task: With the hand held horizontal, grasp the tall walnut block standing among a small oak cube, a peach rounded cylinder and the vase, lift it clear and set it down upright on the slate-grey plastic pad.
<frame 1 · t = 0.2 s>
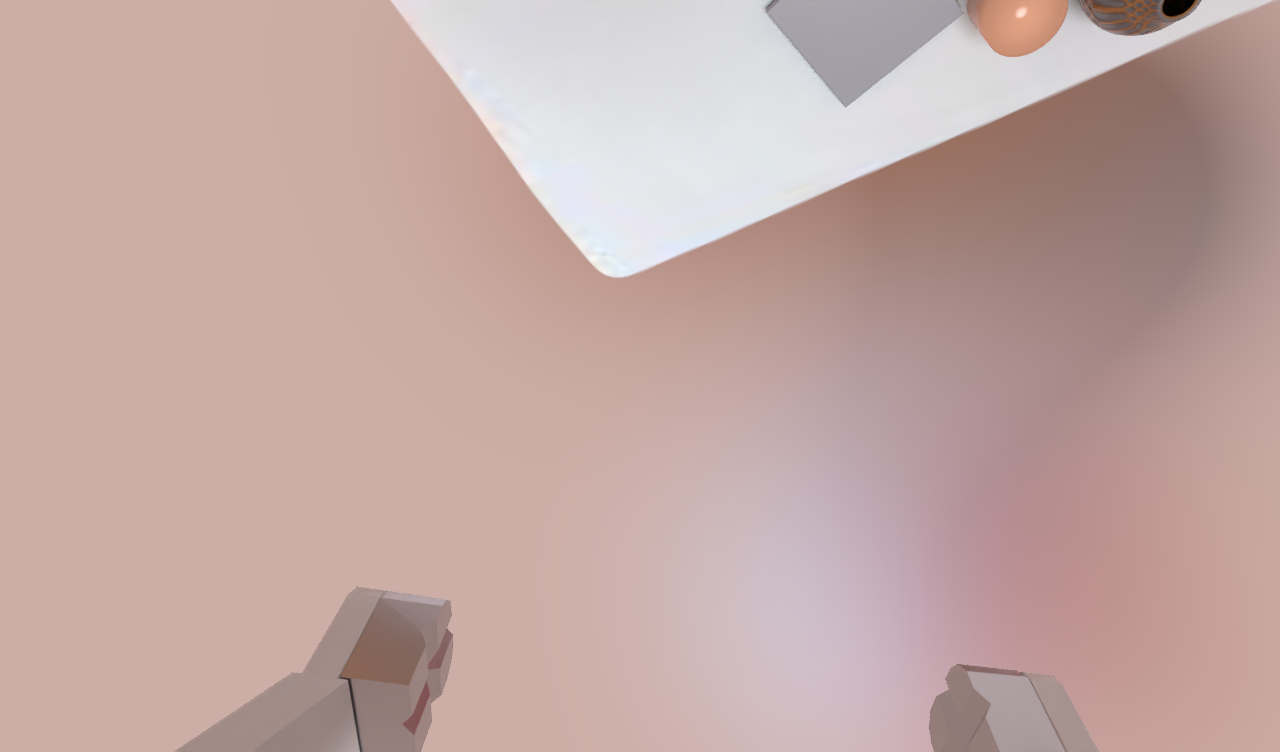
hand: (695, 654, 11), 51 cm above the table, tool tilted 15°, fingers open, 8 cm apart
grey pad: (862, 8, 50), on the table
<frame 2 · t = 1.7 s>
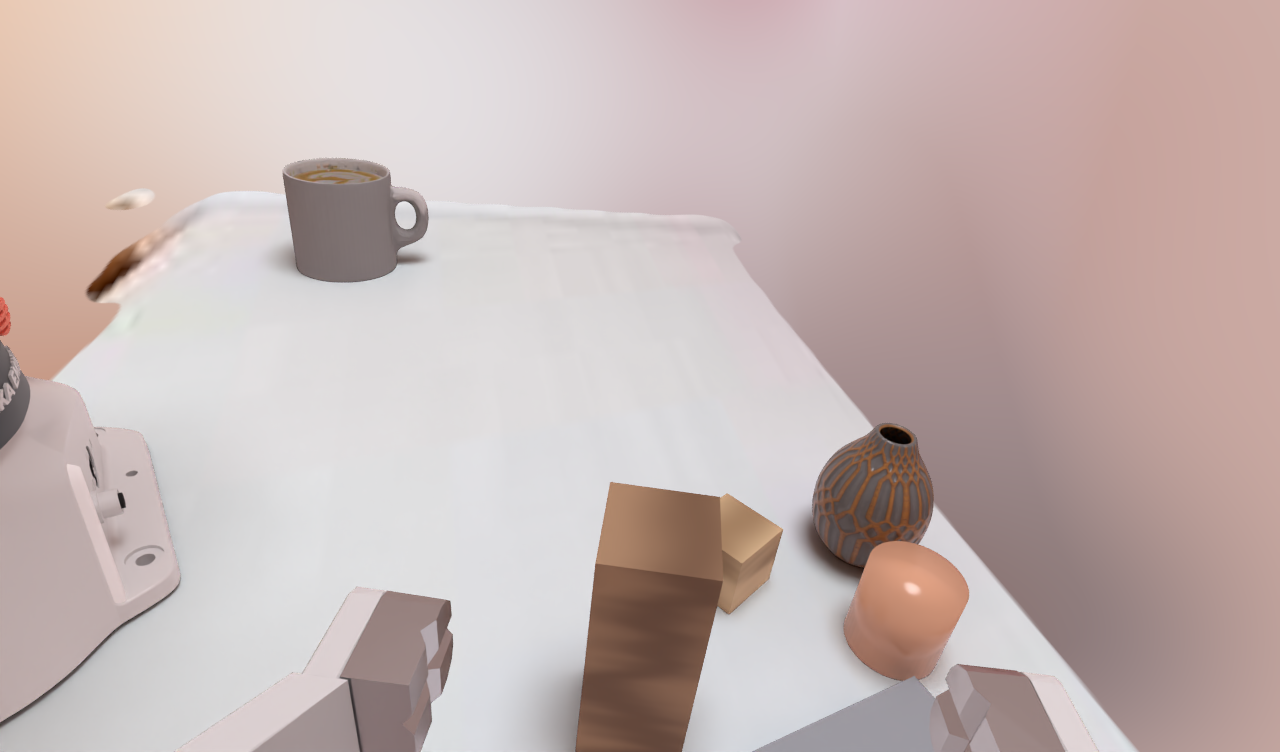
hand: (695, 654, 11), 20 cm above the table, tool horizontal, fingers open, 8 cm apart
vase: (854, 547, 44), on the table
walnut block: (629, 719, 32), on the table
coffee mug: (365, 266, 73), on the table
peach rounded cylinder: (889, 640, 37), on the table
oak cube: (722, 576, 40), on the table
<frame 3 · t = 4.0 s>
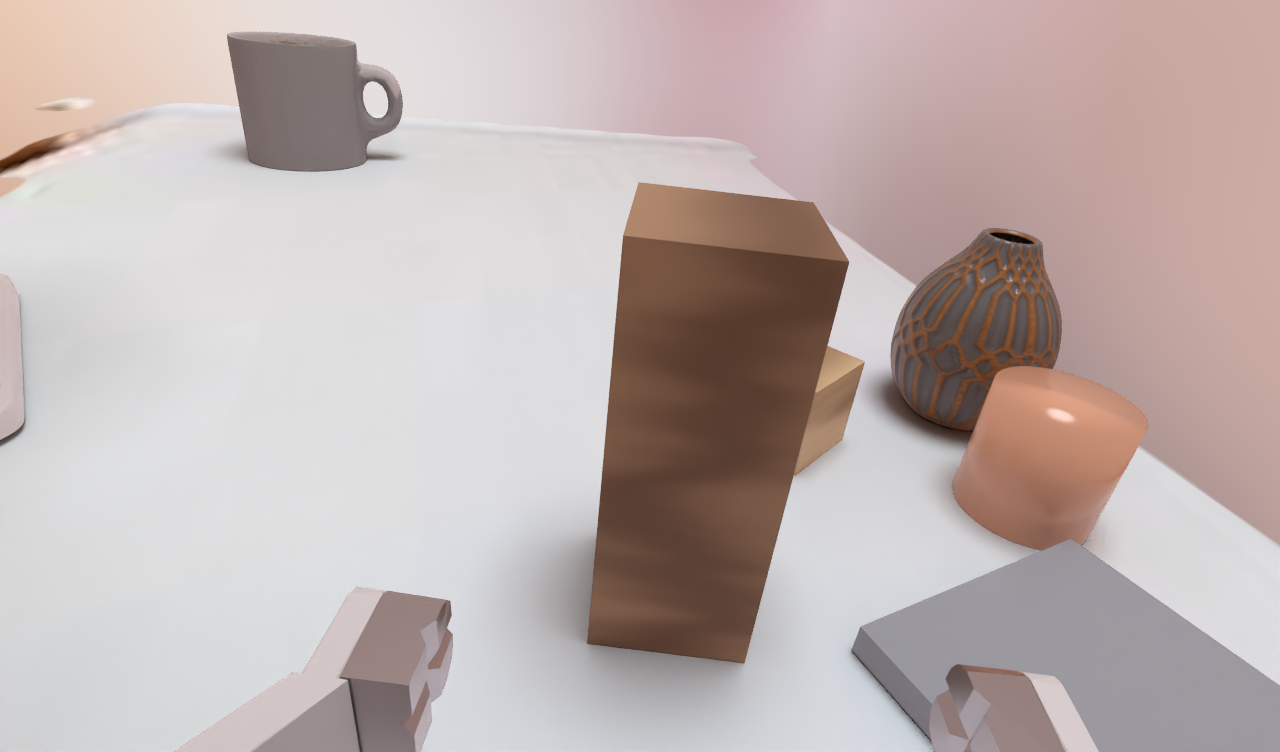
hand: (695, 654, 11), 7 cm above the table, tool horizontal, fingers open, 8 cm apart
vase: (945, 411, 33), on the table
walnut block: (668, 592, 21), on the table
grey pad: (1116, 733, 18), on the table
coffee mug: (329, 161, 63), on the table
peach rounded cylinder: (1018, 506, 27), on the table
oak cube: (779, 437, 30), on the table
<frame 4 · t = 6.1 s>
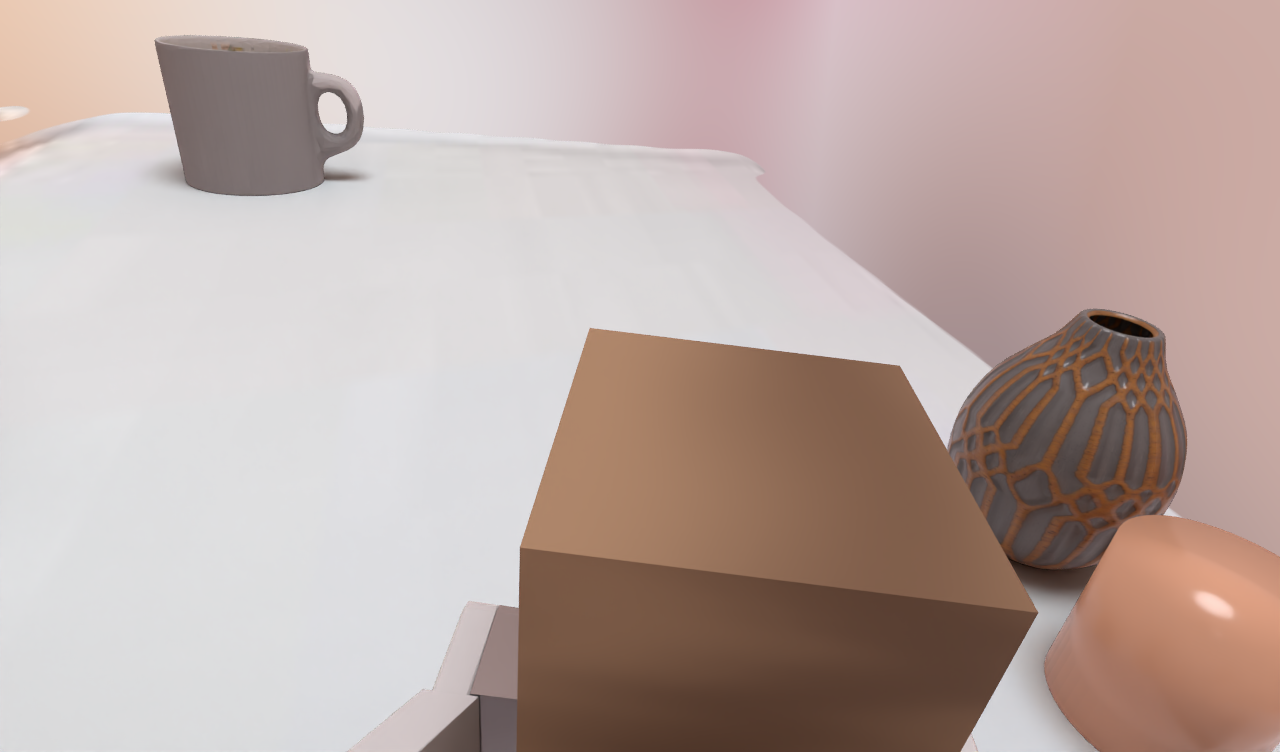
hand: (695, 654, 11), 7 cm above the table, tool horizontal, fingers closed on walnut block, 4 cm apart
vase: (1016, 535, 26), on the table
coffee mug: (280, 182, 56), on the table
peach rounded cylinder: (1139, 707, 19), on the table
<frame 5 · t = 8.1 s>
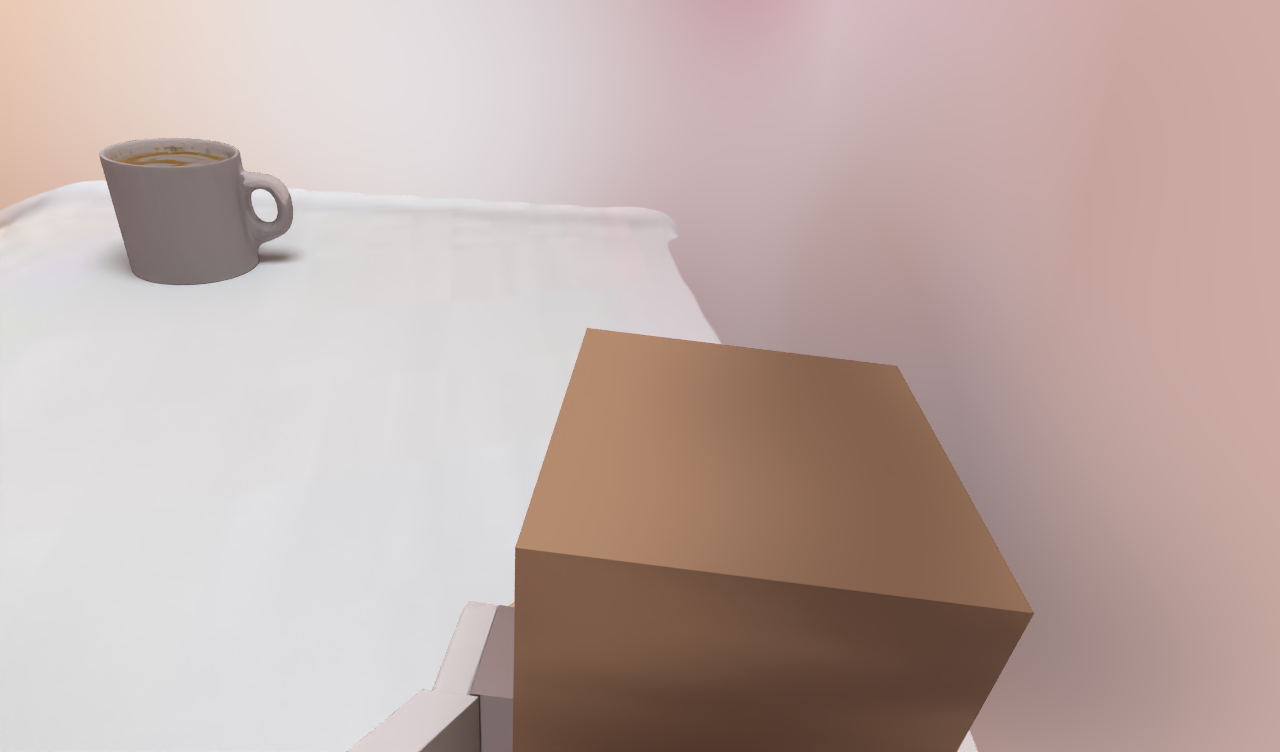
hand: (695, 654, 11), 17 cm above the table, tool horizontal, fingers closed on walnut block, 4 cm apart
coffee mug: (218, 266, 63), on the table
when the fingers open (9 cm above the table, at t = 10.2 s): walnut block drops 1 cm, resting on grey pad.
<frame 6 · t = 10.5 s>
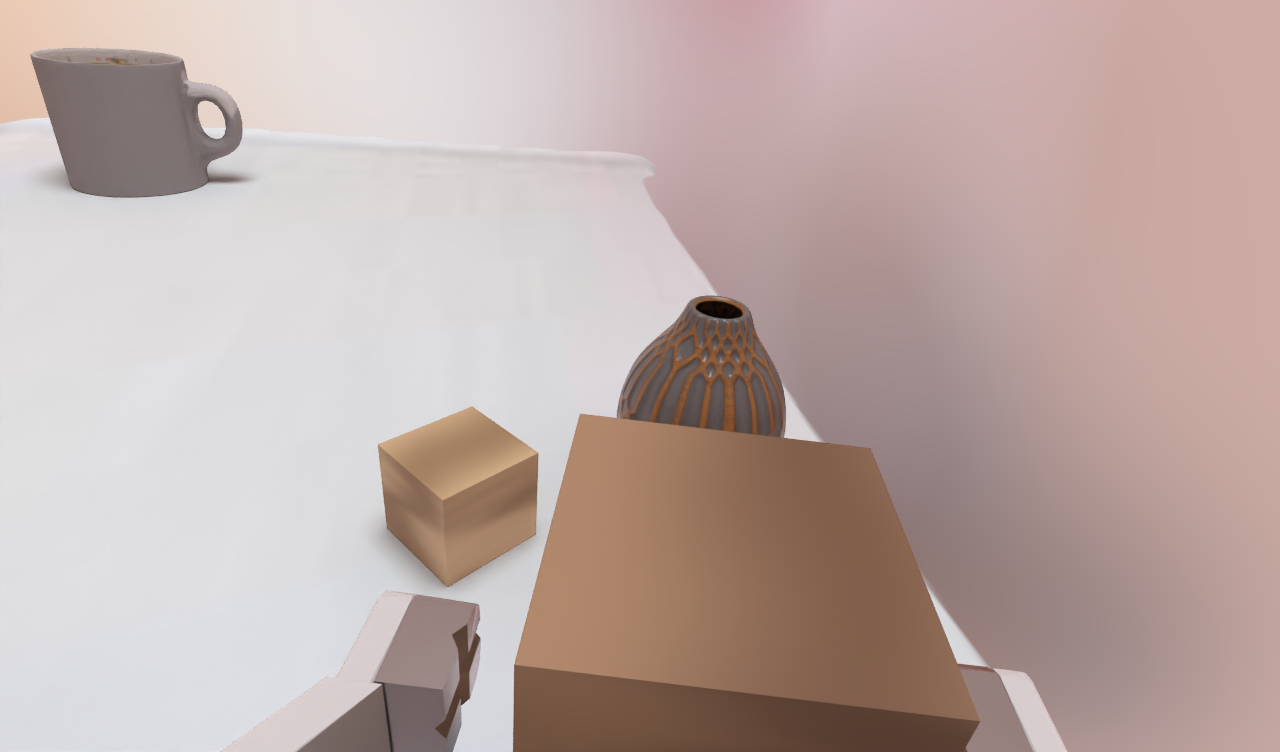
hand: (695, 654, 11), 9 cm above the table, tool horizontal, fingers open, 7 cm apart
vase: (687, 492, 30), on the table
coffee mug: (164, 185, 60), on the table
oak cube: (462, 532, 26), on the table
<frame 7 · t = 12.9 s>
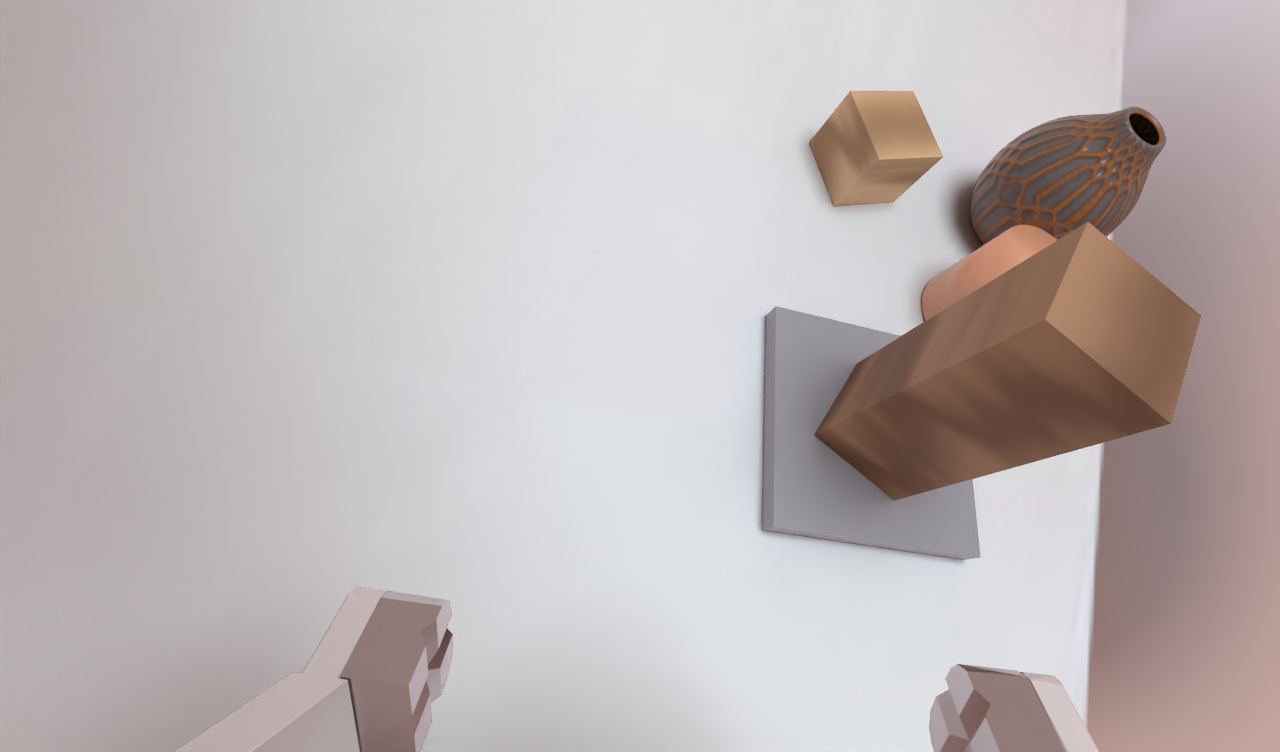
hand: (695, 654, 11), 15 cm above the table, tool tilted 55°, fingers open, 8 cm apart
vase: (996, 231, 39), on the table
walnut block: (874, 429, 30), point 1 cm above the table, touching grey pad
grey pad: (862, 434, 31), on the table
peach rounded cylinder: (961, 316, 36), on the table
oak cube: (850, 173, 37), on the table
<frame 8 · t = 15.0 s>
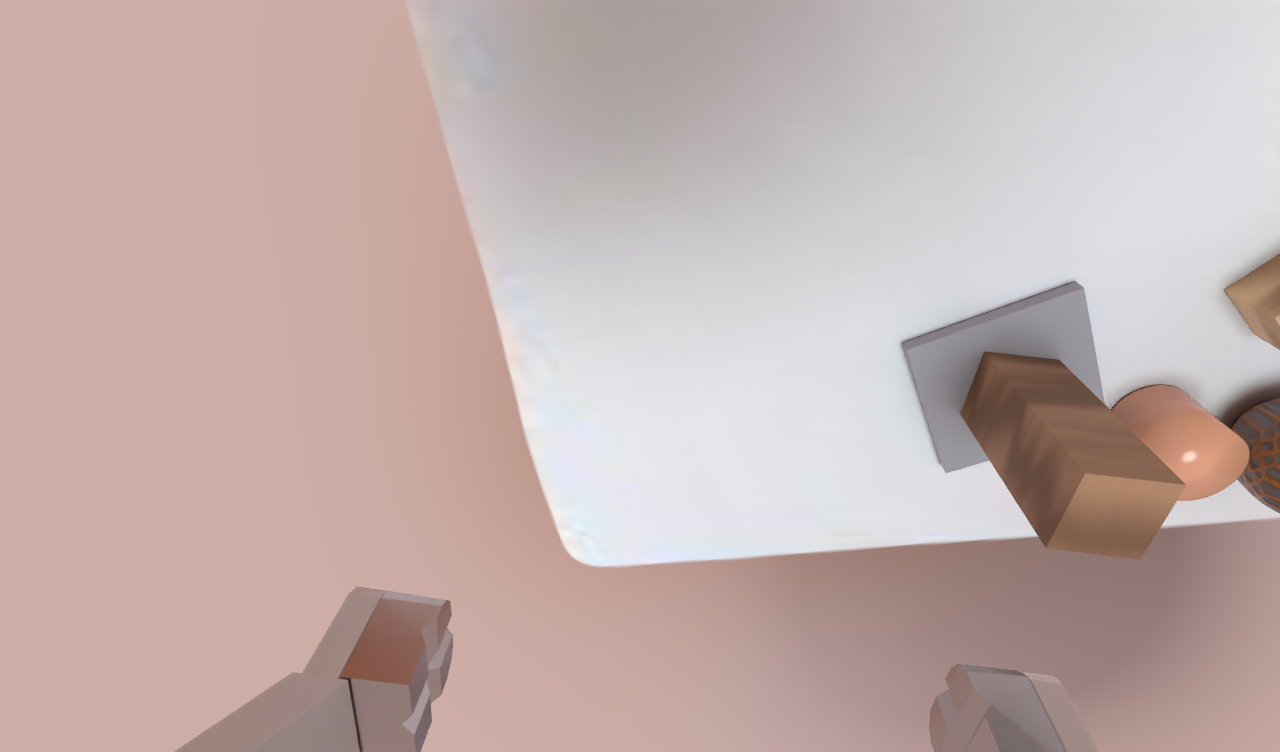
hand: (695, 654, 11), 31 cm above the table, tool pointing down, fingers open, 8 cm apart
vase: (1263, 424, 43), on the table
walnut block: (1008, 387, 42), point 1 cm above the table, touching grey pad
grey pad: (1002, 380, 43), on the table
peach rounded cylinder: (1147, 418, 43), on the table
oak cube: (1274, 289, 39), on the table
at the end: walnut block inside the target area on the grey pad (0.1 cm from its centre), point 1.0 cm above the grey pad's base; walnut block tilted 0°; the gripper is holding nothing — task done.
